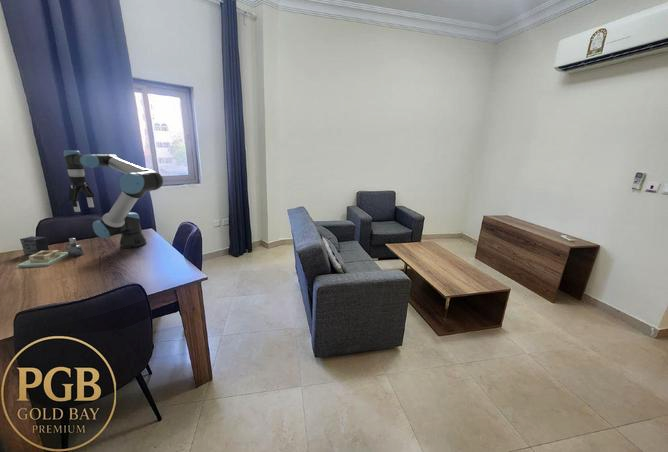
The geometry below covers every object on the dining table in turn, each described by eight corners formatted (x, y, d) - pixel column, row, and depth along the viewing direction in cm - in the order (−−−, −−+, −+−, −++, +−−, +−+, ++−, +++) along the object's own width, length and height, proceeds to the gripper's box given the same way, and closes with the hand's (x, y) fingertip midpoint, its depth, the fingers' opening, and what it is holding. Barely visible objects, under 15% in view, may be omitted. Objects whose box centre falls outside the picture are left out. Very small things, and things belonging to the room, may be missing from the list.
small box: (50, 252, 171) (46, 236, 169) (39, 256, 165) (34, 240, 162) (36, 251, 172) (31, 235, 169) (23, 255, 166) (19, 239, 163)
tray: (70, 254, 169) (70, 251, 169) (48, 265, 152) (48, 263, 152) (44, 255, 166) (43, 253, 166) (18, 267, 149) (17, 265, 149)
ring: (43, 256, 163) (41, 250, 161) (60, 256, 165) (59, 250, 163) (30, 262, 154) (28, 256, 153) (49, 262, 156) (47, 255, 155)
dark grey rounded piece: (86, 252, 172) (82, 236, 169) (79, 256, 166) (74, 240, 163) (73, 253, 171) (69, 236, 168) (65, 257, 164) (61, 240, 161)
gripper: (83, 174, 178) (90, 205, 184) (54, 178, 155) (63, 213, 160) (96, 174, 180) (102, 205, 185) (70, 178, 156) (78, 213, 162)
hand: (84, 209), depth 173 cm, fingers open, 13 cm apart
